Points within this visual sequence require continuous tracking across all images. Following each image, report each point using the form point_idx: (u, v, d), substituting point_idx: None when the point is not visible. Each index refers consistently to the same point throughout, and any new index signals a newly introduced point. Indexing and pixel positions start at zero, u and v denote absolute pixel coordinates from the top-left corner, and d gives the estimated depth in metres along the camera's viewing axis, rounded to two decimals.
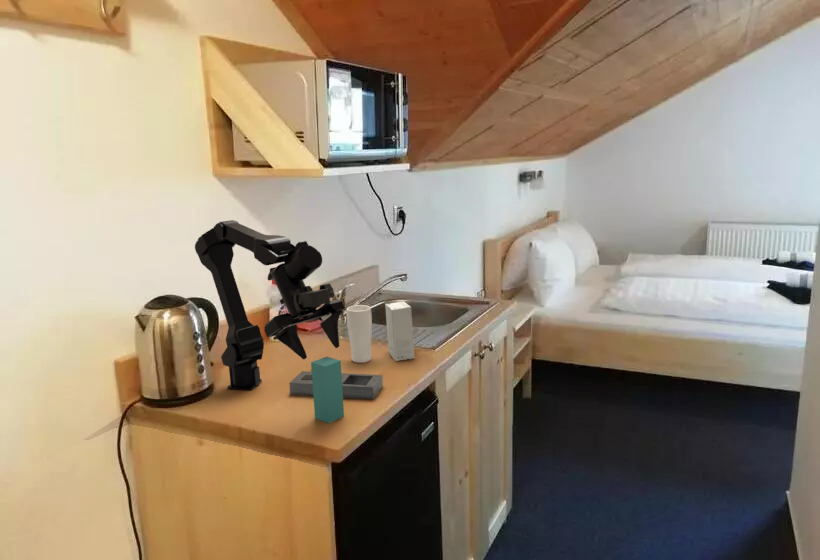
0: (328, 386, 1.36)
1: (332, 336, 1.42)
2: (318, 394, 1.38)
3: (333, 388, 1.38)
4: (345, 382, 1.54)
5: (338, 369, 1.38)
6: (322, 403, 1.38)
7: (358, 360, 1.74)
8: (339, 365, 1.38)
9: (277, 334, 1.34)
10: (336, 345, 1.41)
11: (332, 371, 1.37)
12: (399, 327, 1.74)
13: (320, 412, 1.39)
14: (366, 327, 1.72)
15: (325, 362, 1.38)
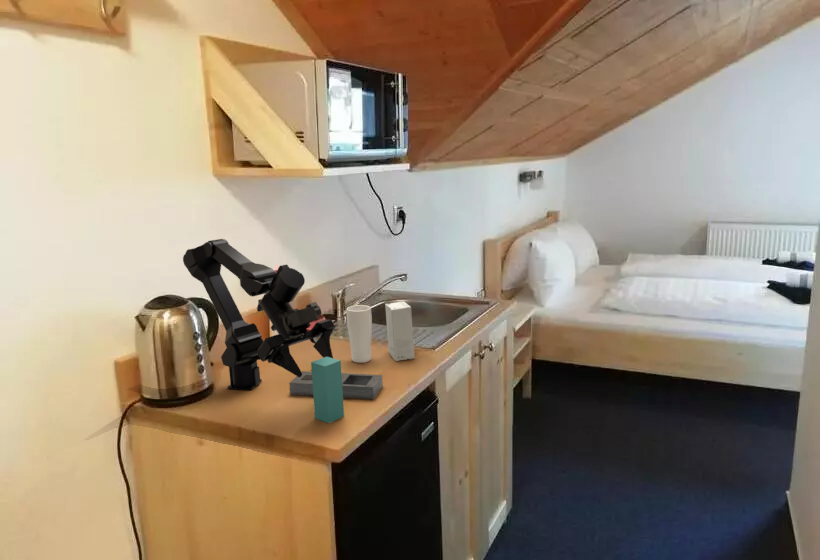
0: (328, 386, 1.36)
1: (326, 354, 1.45)
2: (318, 394, 1.38)
3: (333, 388, 1.38)
4: (345, 382, 1.54)
5: (339, 369, 1.38)
6: (322, 403, 1.38)
7: (358, 360, 1.74)
8: (339, 365, 1.38)
9: (270, 356, 1.37)
10: None
11: (332, 371, 1.37)
12: (399, 327, 1.74)
13: (320, 411, 1.39)
14: (366, 327, 1.72)
15: (326, 362, 1.38)
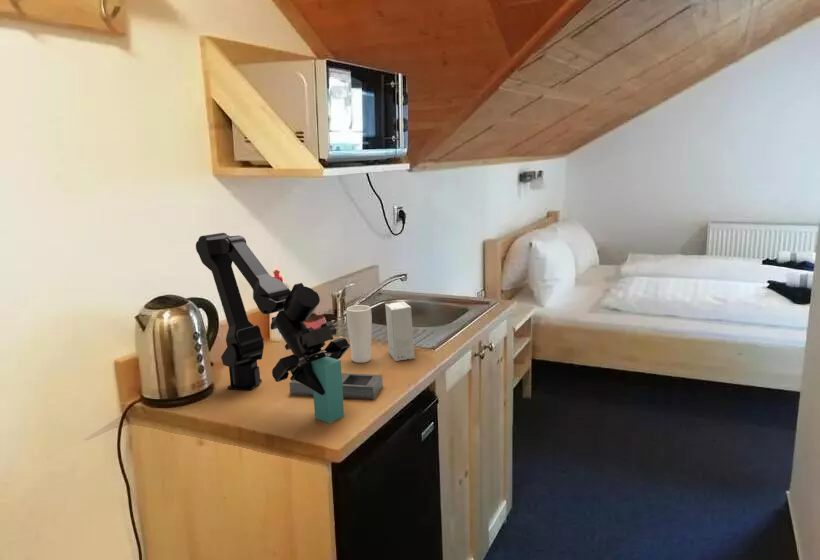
0: (328, 386, 1.36)
1: None
2: (318, 393, 1.38)
3: (333, 388, 1.38)
4: (345, 382, 1.54)
5: (339, 368, 1.38)
6: (322, 403, 1.38)
7: (358, 360, 1.74)
8: (339, 365, 1.38)
9: (293, 374, 1.37)
10: None
11: (332, 370, 1.37)
12: (399, 327, 1.74)
13: (320, 411, 1.39)
14: (366, 327, 1.72)
15: (326, 362, 1.38)
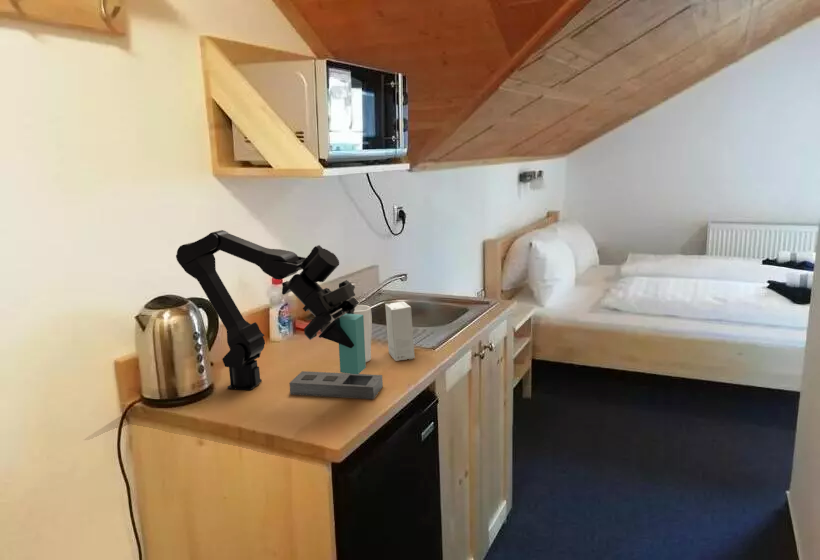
0: (357, 339, 1.46)
1: None
2: (346, 348, 1.47)
3: (359, 341, 1.47)
4: (345, 382, 1.54)
5: (362, 322, 1.48)
6: (350, 356, 1.47)
7: None
8: (362, 319, 1.48)
9: (323, 331, 1.44)
10: None
11: (359, 324, 1.47)
12: (399, 327, 1.74)
13: (347, 365, 1.48)
14: (366, 327, 1.72)
15: (351, 317, 1.47)
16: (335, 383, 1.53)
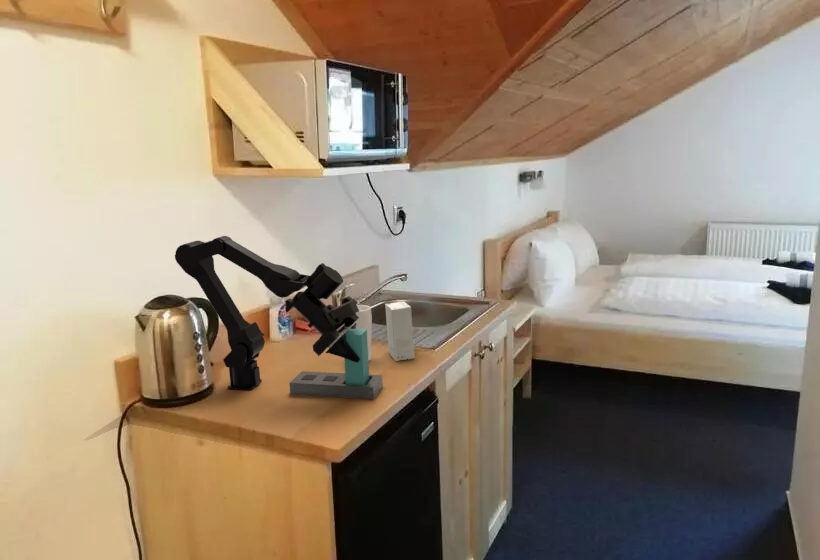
0: (362, 353, 1.50)
1: None
2: (351, 362, 1.51)
3: (364, 355, 1.52)
4: (345, 382, 1.54)
5: (366, 337, 1.53)
6: (356, 370, 1.51)
7: None
8: (366, 333, 1.53)
9: (331, 346, 1.47)
10: None
11: (364, 339, 1.51)
12: (399, 327, 1.74)
13: (353, 378, 1.52)
14: (366, 327, 1.72)
15: (356, 332, 1.51)
16: (335, 383, 1.53)
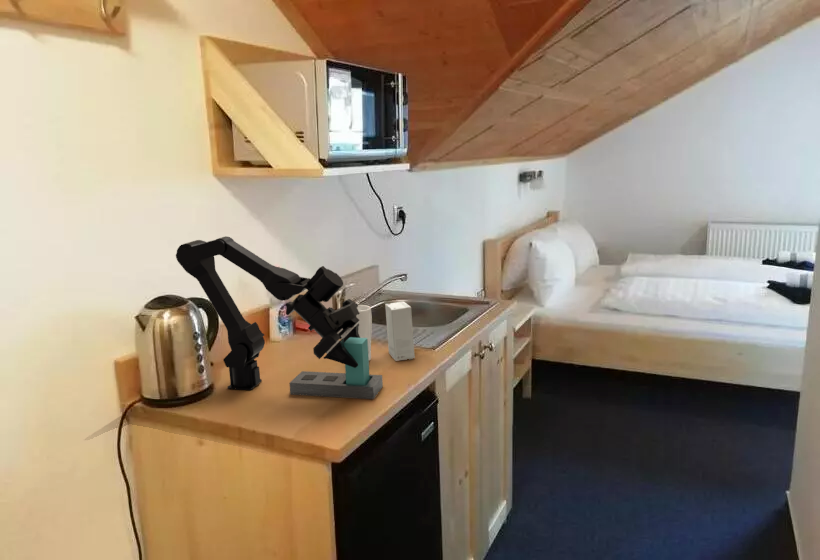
0: (363, 362, 1.51)
1: None
2: (352, 371, 1.51)
3: (365, 364, 1.52)
4: (345, 382, 1.54)
5: (367, 345, 1.53)
6: (357, 378, 1.52)
7: None
8: (367, 342, 1.53)
9: (328, 352, 1.46)
10: None
11: (364, 347, 1.52)
12: (399, 327, 1.74)
13: None
14: (366, 327, 1.72)
15: (356, 341, 1.52)
16: (335, 383, 1.53)
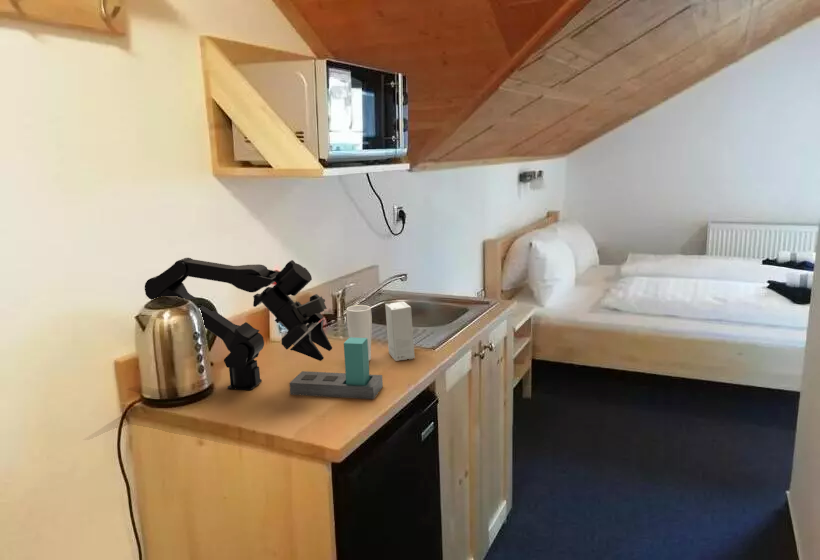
0: (363, 362, 1.51)
1: (323, 341, 1.60)
2: (352, 371, 1.51)
3: (365, 364, 1.52)
4: (345, 382, 1.54)
5: (367, 345, 1.53)
6: (357, 378, 1.52)
7: None
8: (367, 342, 1.53)
9: (296, 343, 1.48)
10: (330, 348, 1.60)
11: (364, 347, 1.52)
12: (399, 327, 1.74)
13: None
14: (366, 327, 1.72)
15: (356, 341, 1.52)
16: (335, 383, 1.53)
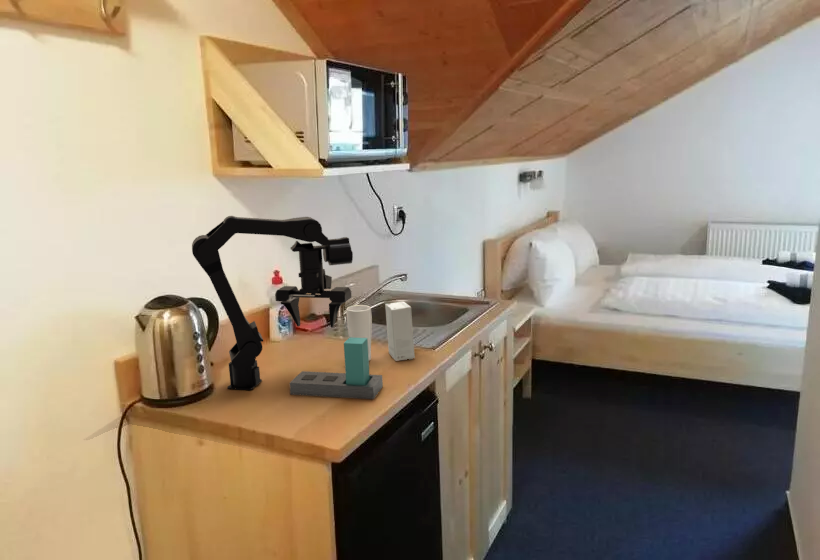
0: (363, 362, 1.51)
1: (298, 316, 1.65)
2: (352, 371, 1.51)
3: (365, 363, 1.52)
4: (345, 382, 1.54)
5: (367, 345, 1.53)
6: (357, 378, 1.52)
7: None
8: (367, 342, 1.53)
9: None
10: (299, 324, 1.66)
11: (364, 347, 1.52)
12: (399, 327, 1.74)
13: None
14: (366, 327, 1.72)
15: (356, 340, 1.52)
16: (335, 383, 1.53)
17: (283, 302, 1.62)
